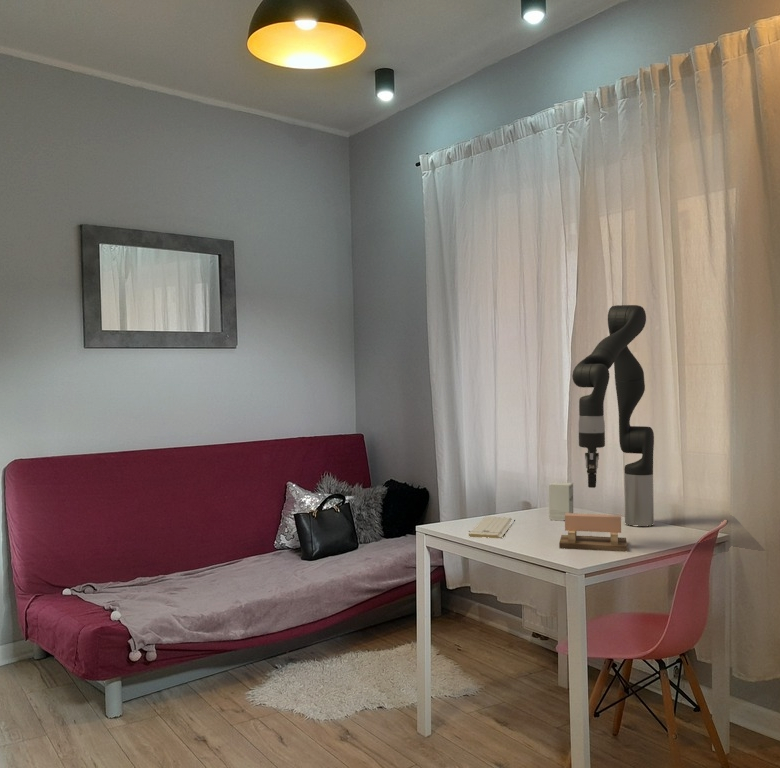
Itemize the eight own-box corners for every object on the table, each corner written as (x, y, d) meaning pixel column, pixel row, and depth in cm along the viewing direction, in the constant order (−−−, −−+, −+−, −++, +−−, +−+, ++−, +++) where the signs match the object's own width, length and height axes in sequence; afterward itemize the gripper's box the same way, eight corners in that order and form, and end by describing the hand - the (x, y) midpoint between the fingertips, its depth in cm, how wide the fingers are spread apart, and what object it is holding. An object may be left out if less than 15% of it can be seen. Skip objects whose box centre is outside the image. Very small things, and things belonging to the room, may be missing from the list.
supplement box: (569, 521, 260) (569, 485, 260) (548, 520, 263) (548, 484, 263) (574, 518, 267) (573, 482, 267) (553, 516, 270) (553, 481, 270)
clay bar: (620, 530, 222) (620, 515, 222) (621, 532, 218) (621, 517, 218) (565, 527, 227) (565, 513, 227) (565, 530, 223) (564, 515, 223)
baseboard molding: (519, 522, 263) (485, 520, 267) (519, 514, 263) (485, 512, 267) (506, 540, 234) (468, 538, 237) (506, 531, 234) (468, 529, 237)
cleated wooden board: (561, 539, 231) (561, 525, 231) (626, 542, 226) (625, 527, 226) (559, 548, 219) (559, 532, 219) (627, 551, 214) (627, 535, 214)
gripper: (604, 433, 214) (605, 489, 215) (604, 429, 228) (605, 482, 228) (577, 432, 217) (578, 488, 217) (579, 429, 230) (580, 481, 230)
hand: (592, 485), depth 223 cm, fingers open, 8 cm apart
